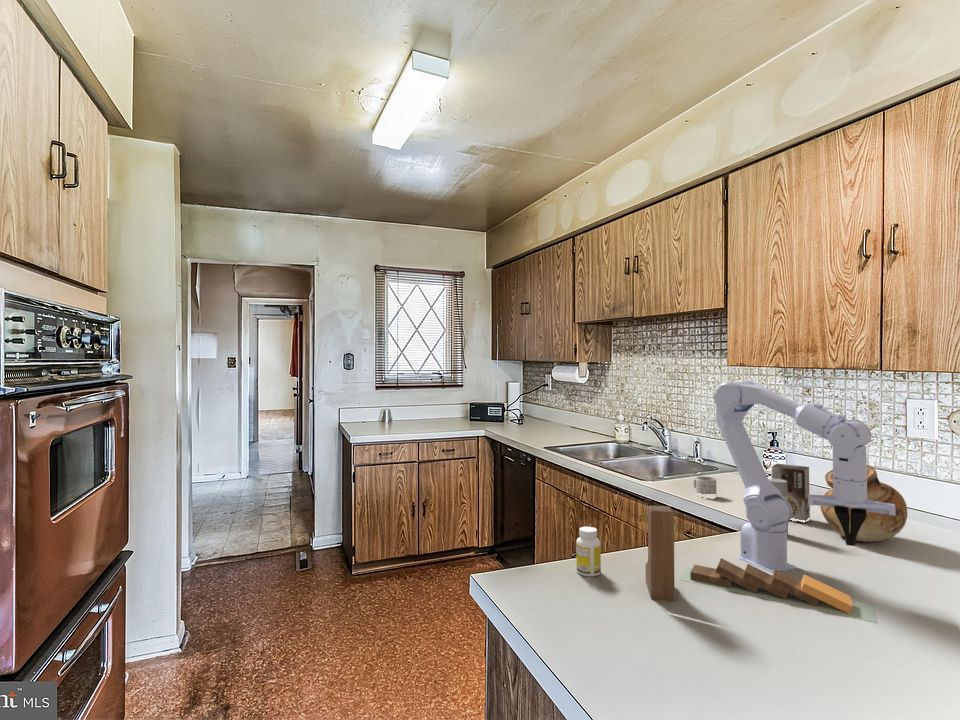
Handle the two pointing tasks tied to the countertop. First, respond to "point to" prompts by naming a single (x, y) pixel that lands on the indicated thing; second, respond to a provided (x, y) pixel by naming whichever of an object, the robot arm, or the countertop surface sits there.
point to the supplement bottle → (588, 552)
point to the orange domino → (826, 594)
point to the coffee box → (795, 487)
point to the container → (781, 489)
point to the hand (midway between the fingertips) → (850, 544)
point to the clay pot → (875, 523)
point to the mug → (705, 485)
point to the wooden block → (660, 553)
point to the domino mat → (794, 600)
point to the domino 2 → (734, 574)
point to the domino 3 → (762, 580)
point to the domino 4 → (792, 587)
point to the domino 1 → (709, 576)
